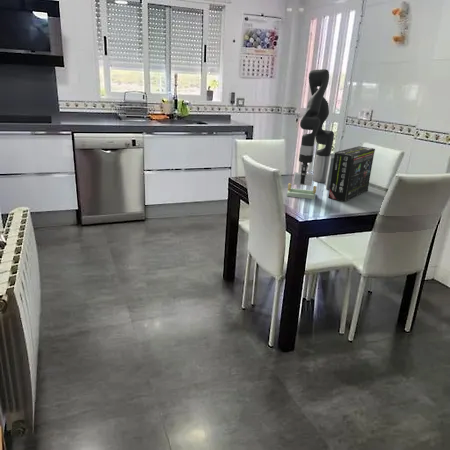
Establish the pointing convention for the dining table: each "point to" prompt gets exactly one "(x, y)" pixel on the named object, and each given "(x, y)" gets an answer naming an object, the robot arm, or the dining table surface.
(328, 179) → the hard drive box
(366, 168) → the router box
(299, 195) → the tray
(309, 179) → the block
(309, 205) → the dining table surface
